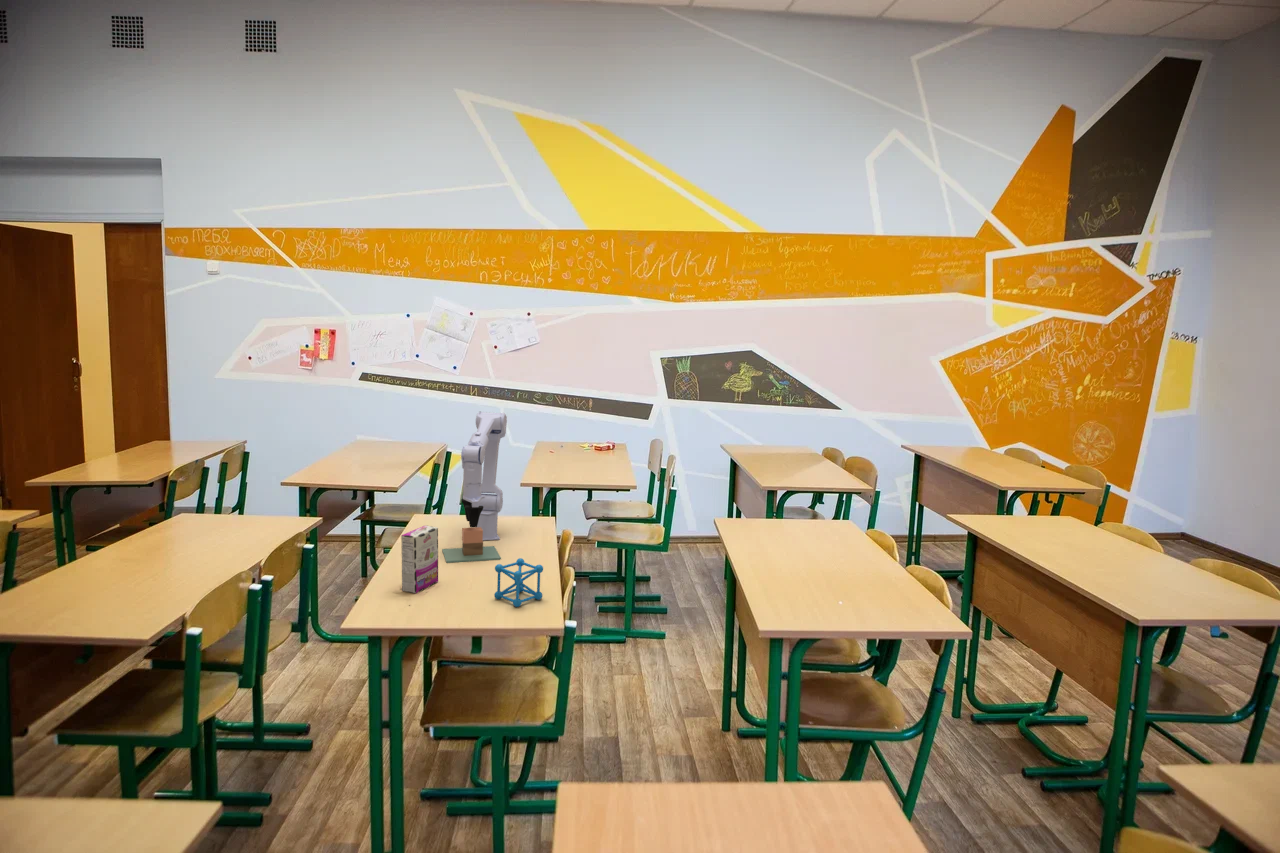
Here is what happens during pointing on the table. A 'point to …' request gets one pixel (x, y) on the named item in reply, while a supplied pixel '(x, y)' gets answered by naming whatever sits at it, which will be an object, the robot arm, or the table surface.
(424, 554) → the candy bar box
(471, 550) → the walnut brick
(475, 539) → the terracotta brick
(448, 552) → the baseplate
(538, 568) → the molecular structure
